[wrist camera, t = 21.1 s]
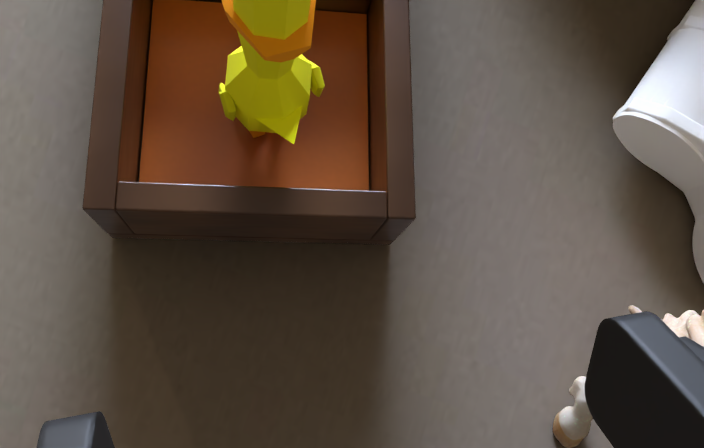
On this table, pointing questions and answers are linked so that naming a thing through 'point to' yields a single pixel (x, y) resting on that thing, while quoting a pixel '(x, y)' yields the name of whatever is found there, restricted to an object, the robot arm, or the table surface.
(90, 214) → the divided wooden tray
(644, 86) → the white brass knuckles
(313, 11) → the toy figure
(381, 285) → the table surface
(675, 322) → the unicorn figurine
